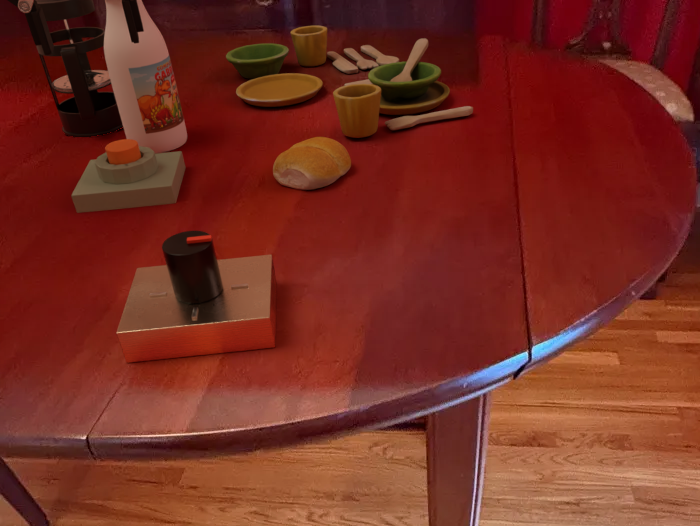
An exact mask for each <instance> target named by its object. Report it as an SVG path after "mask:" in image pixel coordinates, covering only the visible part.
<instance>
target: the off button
mask: <svg viewBox="0 0 700 526" xmlns="http://www.w3.org/2000/svg"><path fill="white" fill-rule="evenodd" d="M104 149H105V153H107V157H108V160H109V163H110V164H113V165H121V164H128V163H131V162H135V161H137V160H139V159H140V158H141V153H140V149H139V146H138V142H137V141H136V140H132V139H127V138H124V139H118V140H117V139H116V140H114V141H112V142H110V143H107V144H106V145H105V147H104Z"/></svg>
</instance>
